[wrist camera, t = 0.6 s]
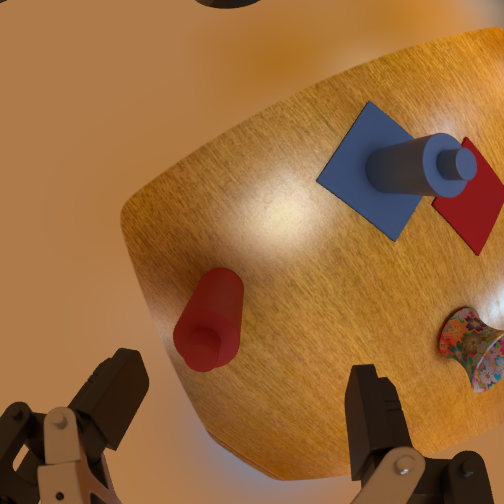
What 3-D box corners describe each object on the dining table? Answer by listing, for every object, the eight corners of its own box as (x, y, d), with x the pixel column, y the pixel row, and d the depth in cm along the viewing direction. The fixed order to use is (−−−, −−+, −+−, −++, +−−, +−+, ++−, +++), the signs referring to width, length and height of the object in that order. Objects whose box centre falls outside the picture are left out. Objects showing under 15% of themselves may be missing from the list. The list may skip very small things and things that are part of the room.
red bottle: (190, 295, 33) (153, 363, 19) (213, 258, 32) (185, 311, 18) (228, 317, 34) (214, 397, 20) (252, 283, 33) (252, 351, 19)
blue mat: (315, 181, 30) (316, 180, 30) (368, 101, 28) (369, 100, 28) (393, 241, 32) (395, 242, 31) (437, 164, 30) (439, 164, 29)
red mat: (431, 204, 31) (433, 205, 30) (464, 136, 29) (466, 136, 28) (476, 255, 32) (478, 256, 32) (505, 191, 30) (508, 191, 29)
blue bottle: (357, 174, 30) (430, 167, 15) (379, 139, 29) (456, 114, 15) (390, 201, 30) (472, 214, 16) (410, 167, 29) (495, 162, 15)
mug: (428, 328, 34) (469, 365, 24) (472, 291, 33) (517, 317, 23) (443, 376, 36) (474, 412, 26) (481, 343, 35) (517, 372, 25)
